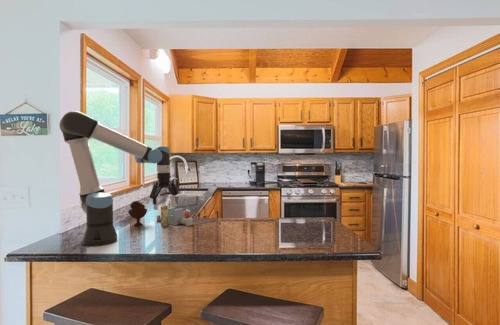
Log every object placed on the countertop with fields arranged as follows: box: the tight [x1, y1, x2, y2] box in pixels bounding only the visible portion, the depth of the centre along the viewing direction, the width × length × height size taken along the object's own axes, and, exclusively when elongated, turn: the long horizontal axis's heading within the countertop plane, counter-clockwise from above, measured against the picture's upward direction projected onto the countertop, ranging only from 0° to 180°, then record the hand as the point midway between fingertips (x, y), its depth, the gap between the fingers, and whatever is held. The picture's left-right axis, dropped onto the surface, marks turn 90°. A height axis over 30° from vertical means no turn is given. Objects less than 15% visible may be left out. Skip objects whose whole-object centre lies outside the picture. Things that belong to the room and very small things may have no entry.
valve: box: [156, 206, 194, 227], centre depth 192 cm, size 15×26×9 cm, turn 59°
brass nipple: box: [160, 205, 169, 228], centre depth 181 cm, size 4×4×12 cm
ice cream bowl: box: [127, 200, 148, 227], centre depth 184 cm, size 11×11×15 cm
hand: (164, 207), depth 181 cm, fingers open, 13 cm apart
